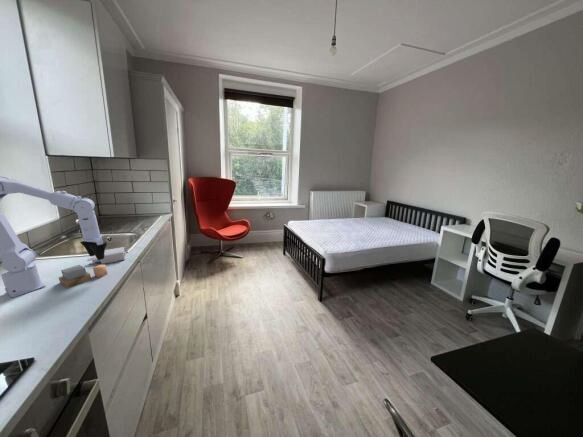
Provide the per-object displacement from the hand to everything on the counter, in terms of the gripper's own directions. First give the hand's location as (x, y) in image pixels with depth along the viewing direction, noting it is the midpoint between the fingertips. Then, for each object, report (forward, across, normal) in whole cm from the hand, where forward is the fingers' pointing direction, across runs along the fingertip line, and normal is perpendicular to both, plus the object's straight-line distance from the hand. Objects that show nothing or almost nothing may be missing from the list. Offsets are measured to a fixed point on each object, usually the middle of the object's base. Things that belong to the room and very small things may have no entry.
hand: (97, 257), depth 105 cm
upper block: (+6, +3, +8) cm, 10 cm away
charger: (+9, +15, -8) cm, 20 cm away
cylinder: (+8, 0, 0) cm, 8 cm away
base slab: (+9, +3, +8) cm, 12 cm away
